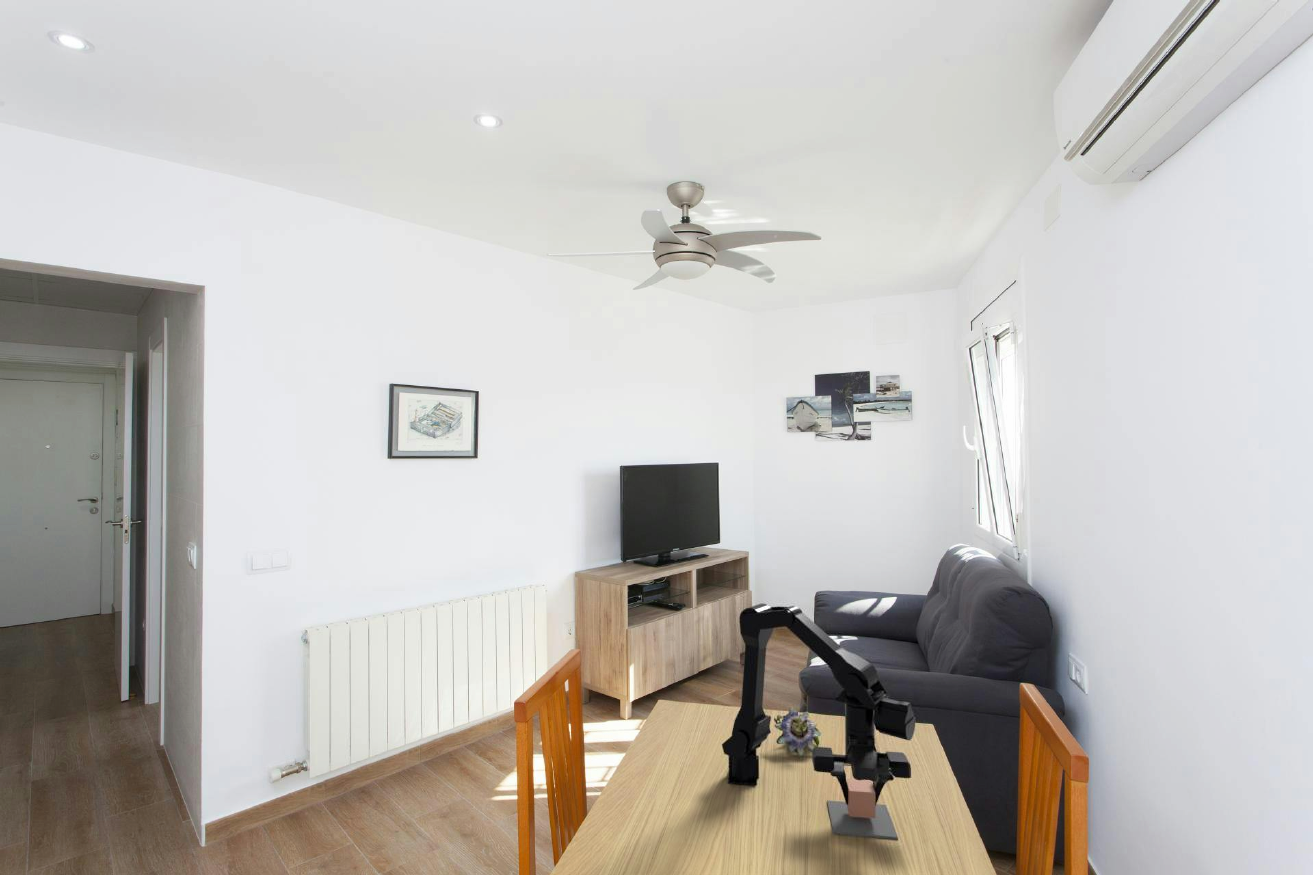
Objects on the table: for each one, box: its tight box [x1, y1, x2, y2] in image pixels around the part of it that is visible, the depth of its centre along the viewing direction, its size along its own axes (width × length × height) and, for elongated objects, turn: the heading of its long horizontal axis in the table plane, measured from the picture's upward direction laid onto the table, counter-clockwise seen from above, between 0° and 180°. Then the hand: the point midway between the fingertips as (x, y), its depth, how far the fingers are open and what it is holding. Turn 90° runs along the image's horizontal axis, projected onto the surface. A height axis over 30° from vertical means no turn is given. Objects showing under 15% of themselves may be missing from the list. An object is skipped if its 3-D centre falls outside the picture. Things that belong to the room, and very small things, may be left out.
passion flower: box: [773, 706, 822, 757], centre depth 166 cm, size 11×11×12 cm
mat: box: [826, 799, 899, 840], centre depth 133 cm, size 12×12×1 cm
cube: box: [846, 778, 876, 818], centre depth 133 cm, size 5×5×5 cm
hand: (860, 804), depth 133 cm, fingers closed on cube, 5 cm apart
